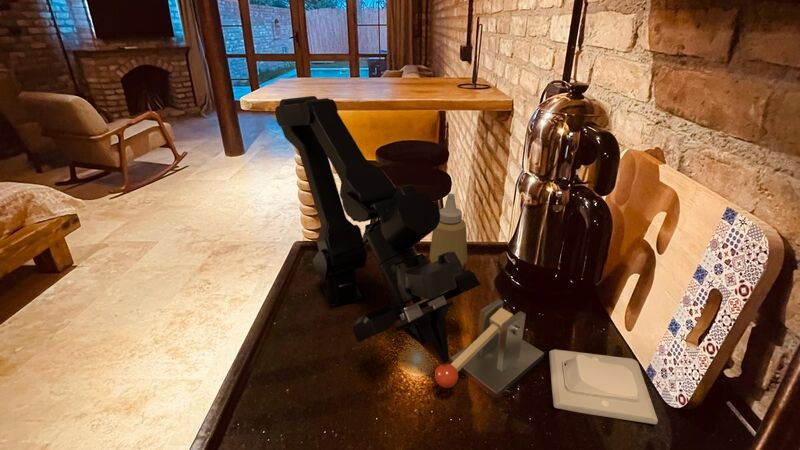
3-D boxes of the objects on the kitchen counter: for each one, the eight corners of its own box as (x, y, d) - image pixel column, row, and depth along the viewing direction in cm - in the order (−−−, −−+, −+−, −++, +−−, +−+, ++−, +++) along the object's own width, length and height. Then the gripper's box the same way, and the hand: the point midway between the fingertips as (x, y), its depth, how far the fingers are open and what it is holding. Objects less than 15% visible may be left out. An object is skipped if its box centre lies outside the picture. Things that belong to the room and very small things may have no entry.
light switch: (550, 336, 64) (641, 346, 61) (548, 356, 66) (636, 367, 63) (555, 390, 55) (663, 406, 52) (553, 412, 57) (656, 428, 53)
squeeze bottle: (469, 282, 84) (474, 202, 76) (429, 283, 84) (431, 203, 76) (464, 262, 91) (468, 187, 83) (427, 262, 91) (429, 187, 83)
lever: (448, 397, 55) (445, 383, 53) (431, 383, 57) (428, 369, 55) (516, 328, 61) (516, 314, 59) (499, 317, 63) (498, 303, 62)
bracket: (495, 399, 58) (502, 347, 53) (449, 364, 64) (452, 314, 60) (543, 359, 65) (552, 309, 60) (497, 330, 71) (503, 283, 66)
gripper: (358, 261, 46) (415, 394, 43) (476, 219, 56) (530, 325, 53) (332, 286, 56) (378, 396, 53) (437, 246, 65) (482, 338, 62)
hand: (445, 362), depth 55 cm, fingers closed
